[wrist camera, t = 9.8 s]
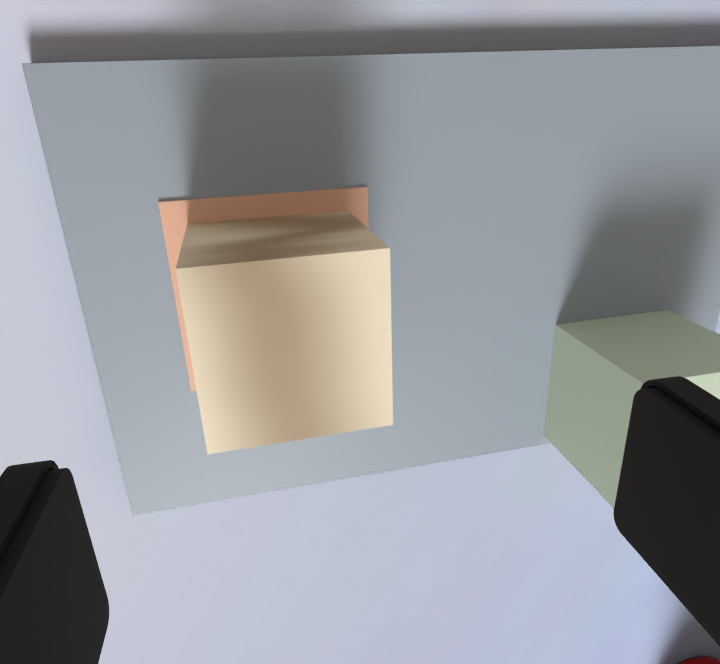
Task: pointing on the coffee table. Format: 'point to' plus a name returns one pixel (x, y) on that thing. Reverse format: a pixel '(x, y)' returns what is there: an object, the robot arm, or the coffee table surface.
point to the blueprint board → (384, 228)
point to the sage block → (618, 383)
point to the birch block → (287, 327)
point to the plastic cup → (702, 661)
